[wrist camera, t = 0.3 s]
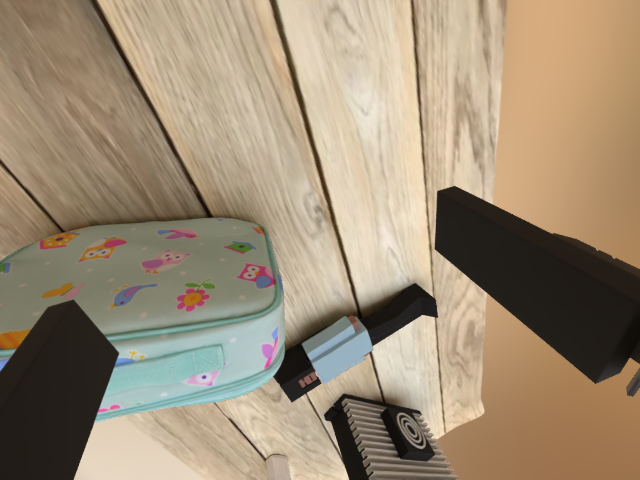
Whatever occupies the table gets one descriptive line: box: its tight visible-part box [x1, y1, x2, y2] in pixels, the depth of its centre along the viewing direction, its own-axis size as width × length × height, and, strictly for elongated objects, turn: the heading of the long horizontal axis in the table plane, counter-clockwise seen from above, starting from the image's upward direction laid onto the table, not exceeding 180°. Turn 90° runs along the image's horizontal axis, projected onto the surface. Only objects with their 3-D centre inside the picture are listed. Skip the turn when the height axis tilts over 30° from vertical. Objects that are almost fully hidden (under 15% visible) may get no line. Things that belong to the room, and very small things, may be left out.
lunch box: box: [0, 218, 285, 423], centre depth 29 cm, size 27×10×21 cm, turn 87°
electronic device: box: [324, 394, 458, 480], centre depth 64 cm, size 28×11×20 cm, turn 52°
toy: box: [273, 283, 438, 402], centre depth 52 cm, size 10×8×30 cm
